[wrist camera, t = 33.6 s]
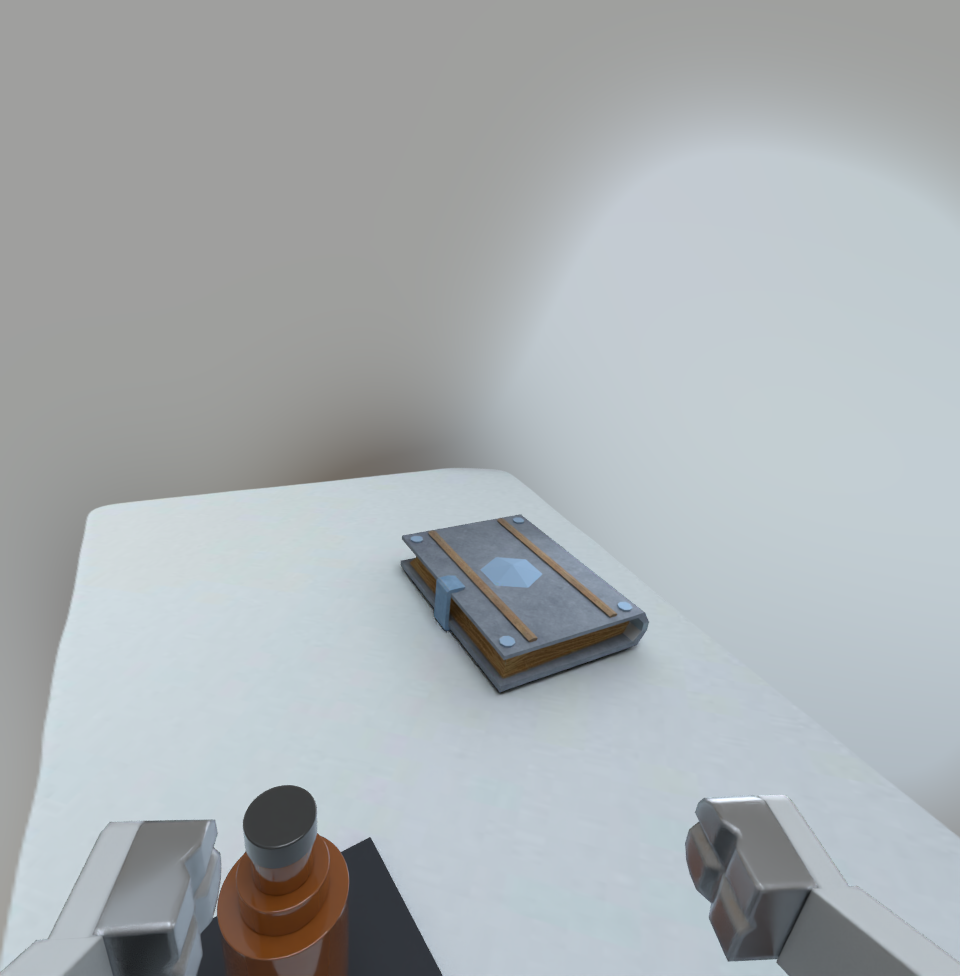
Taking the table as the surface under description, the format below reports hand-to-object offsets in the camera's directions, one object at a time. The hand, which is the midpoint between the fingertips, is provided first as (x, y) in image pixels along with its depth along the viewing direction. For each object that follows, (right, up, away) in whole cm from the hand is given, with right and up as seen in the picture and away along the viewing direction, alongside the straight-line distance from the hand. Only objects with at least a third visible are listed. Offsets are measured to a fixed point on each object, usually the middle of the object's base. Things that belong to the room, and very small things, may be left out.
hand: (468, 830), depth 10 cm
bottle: (-9, -19, +18) cm, 28 cm away
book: (+3, -6, +51) cm, 52 cm away
